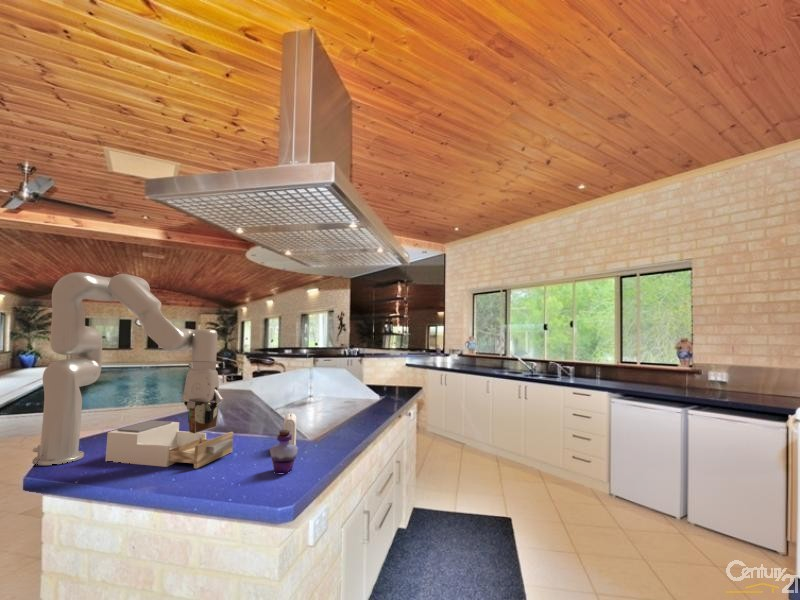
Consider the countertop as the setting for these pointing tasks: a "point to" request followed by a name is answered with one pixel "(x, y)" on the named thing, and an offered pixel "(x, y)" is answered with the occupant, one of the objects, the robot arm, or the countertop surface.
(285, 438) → the potion bottle
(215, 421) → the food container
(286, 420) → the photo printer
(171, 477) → the countertop surface
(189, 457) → the sliding tray
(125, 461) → the dock
